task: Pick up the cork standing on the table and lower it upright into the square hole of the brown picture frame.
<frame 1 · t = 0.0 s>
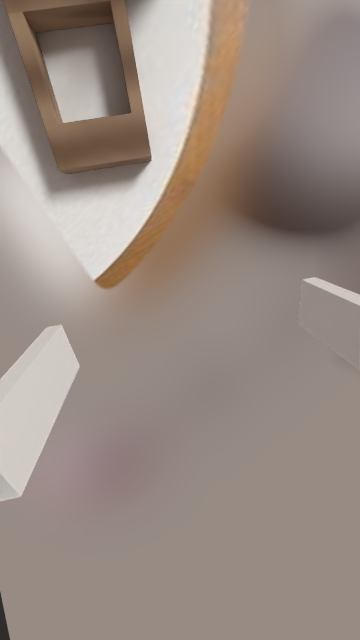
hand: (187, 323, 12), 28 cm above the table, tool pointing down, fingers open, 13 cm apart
brown picture frame: (88, 80, 28), on the table
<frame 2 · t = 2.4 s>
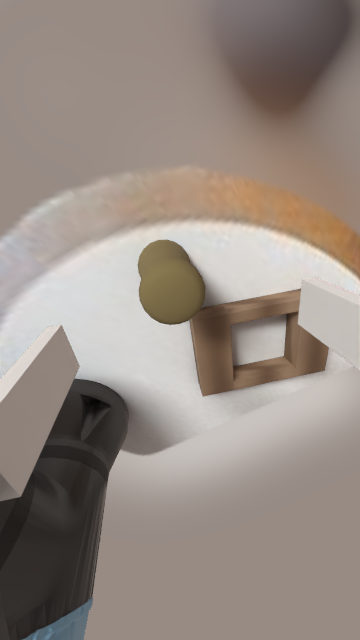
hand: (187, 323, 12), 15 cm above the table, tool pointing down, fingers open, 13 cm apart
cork: (164, 266, 26), on the table
brown picture frame: (255, 336, 32), on the table
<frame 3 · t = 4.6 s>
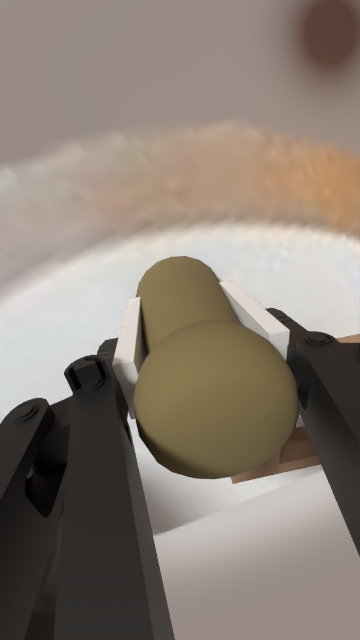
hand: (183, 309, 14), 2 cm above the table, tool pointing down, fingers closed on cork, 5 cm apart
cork: (179, 299, 16), on the table, touching gripper
brown picture frame: (310, 394, 22), on the table
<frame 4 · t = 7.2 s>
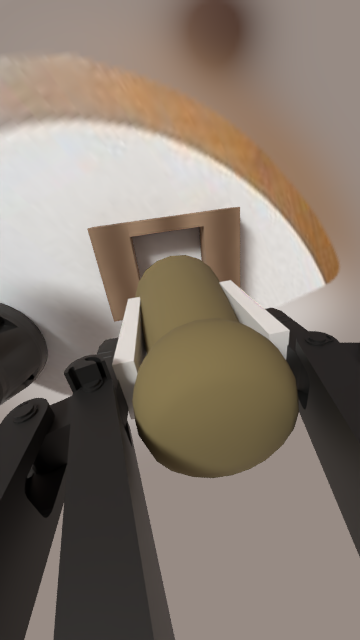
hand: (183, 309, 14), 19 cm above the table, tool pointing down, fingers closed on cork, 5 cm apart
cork: (179, 298, 16), point 17 cm above the table, touching gripper
brown picture frame: (170, 263, 32), on the table
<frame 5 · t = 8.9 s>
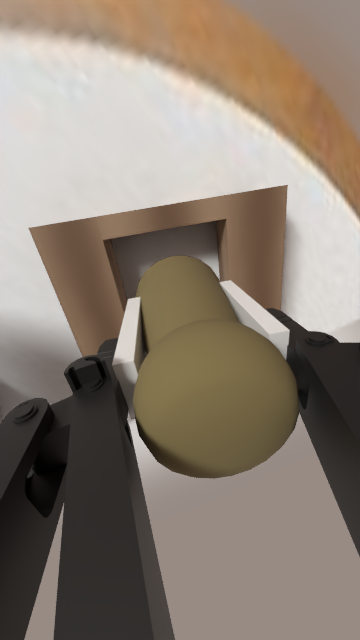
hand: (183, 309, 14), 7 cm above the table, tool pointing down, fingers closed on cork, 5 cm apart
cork: (179, 298, 16), point 5 cm above the table, touching gripper
brown picture frame: (171, 278, 21), on the table
when the fingers open (4 cm above the table, at t = 10.1 s): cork drops 2 cm, resting in brown picture frame.
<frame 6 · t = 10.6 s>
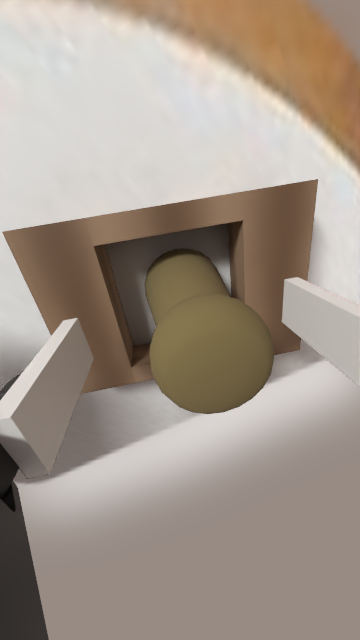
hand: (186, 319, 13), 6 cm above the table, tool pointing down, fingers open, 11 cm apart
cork: (182, 286, 18), resting in brown picture frame
brown picture frame: (176, 289, 18), on the table
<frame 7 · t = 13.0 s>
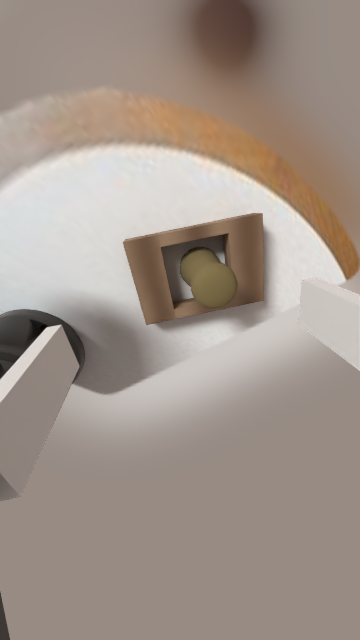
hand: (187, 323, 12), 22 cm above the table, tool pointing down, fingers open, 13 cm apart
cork: (199, 267, 34), resting in brown picture frame
brown picture frame: (196, 268, 34), on the table
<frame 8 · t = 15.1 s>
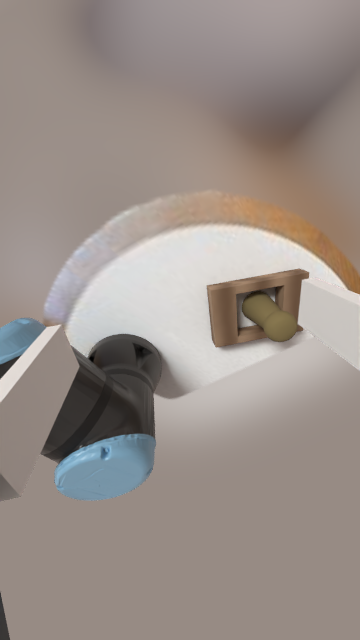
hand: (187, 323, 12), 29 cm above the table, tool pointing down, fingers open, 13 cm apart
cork: (255, 305, 45), resting in brown picture frame
brown picture frame: (253, 306, 45), on the table
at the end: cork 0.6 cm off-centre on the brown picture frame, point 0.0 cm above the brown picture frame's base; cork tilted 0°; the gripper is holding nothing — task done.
